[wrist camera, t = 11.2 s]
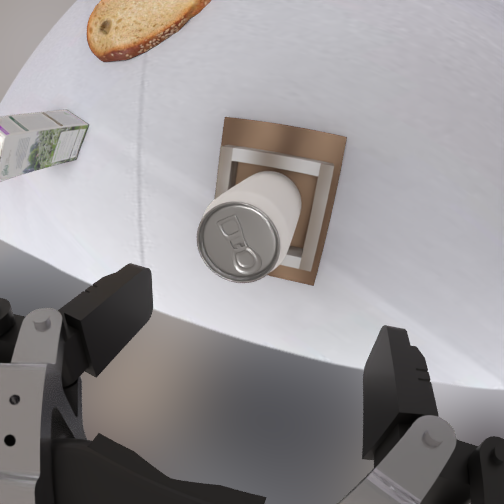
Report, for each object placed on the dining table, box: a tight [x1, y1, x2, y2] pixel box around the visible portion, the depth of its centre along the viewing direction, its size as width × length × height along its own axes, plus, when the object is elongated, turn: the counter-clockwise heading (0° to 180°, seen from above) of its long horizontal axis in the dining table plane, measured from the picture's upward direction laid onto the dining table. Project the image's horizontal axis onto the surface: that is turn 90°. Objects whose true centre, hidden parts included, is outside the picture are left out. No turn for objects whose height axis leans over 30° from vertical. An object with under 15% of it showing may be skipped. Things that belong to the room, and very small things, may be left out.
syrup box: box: [0, 110, 88, 182], centre depth 28 cm, size 6×6×14 cm
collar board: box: [215, 117, 347, 286], centre depth 30 cm, size 12×16×4 cm
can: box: [197, 171, 301, 283], centre depth 25 cm, size 6×6×12 cm
